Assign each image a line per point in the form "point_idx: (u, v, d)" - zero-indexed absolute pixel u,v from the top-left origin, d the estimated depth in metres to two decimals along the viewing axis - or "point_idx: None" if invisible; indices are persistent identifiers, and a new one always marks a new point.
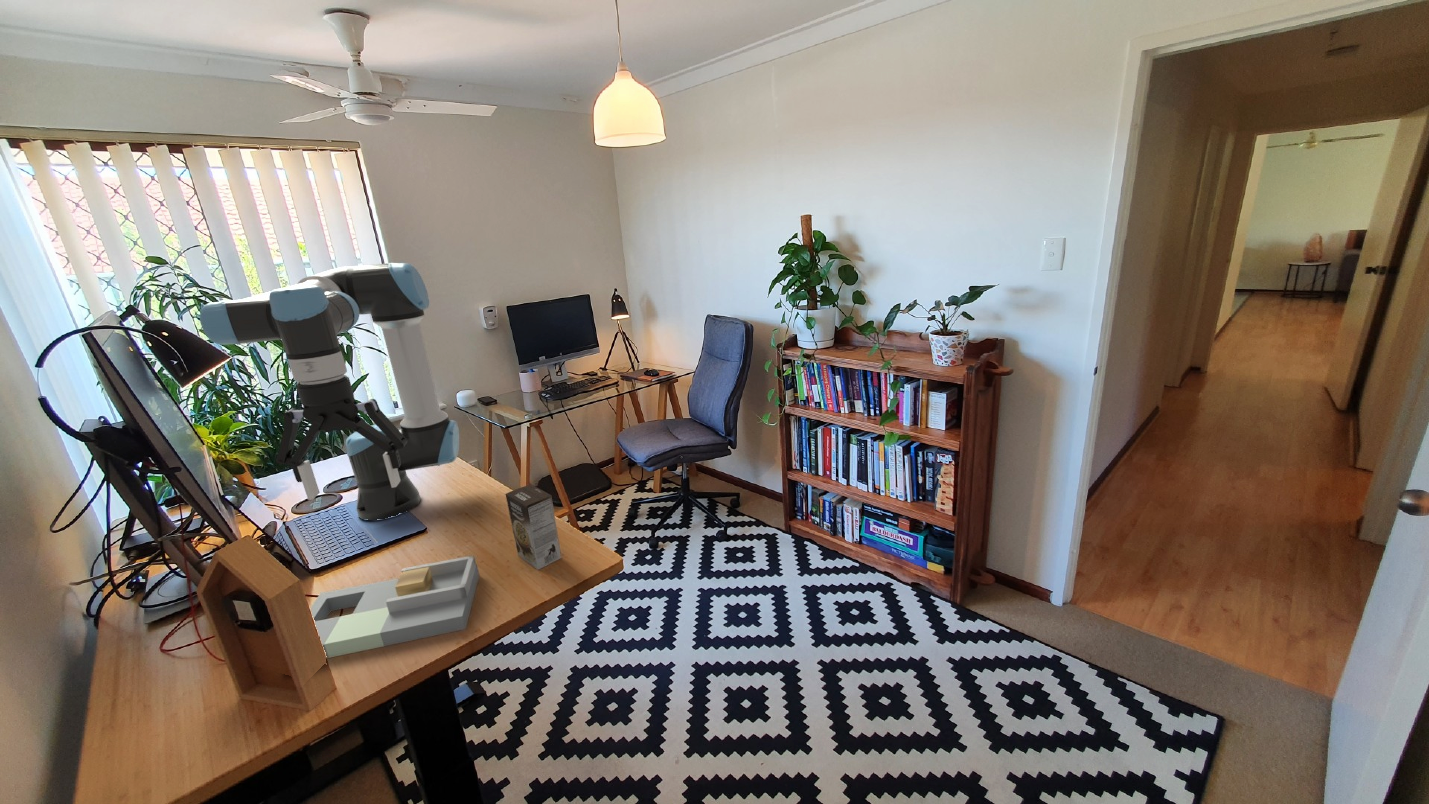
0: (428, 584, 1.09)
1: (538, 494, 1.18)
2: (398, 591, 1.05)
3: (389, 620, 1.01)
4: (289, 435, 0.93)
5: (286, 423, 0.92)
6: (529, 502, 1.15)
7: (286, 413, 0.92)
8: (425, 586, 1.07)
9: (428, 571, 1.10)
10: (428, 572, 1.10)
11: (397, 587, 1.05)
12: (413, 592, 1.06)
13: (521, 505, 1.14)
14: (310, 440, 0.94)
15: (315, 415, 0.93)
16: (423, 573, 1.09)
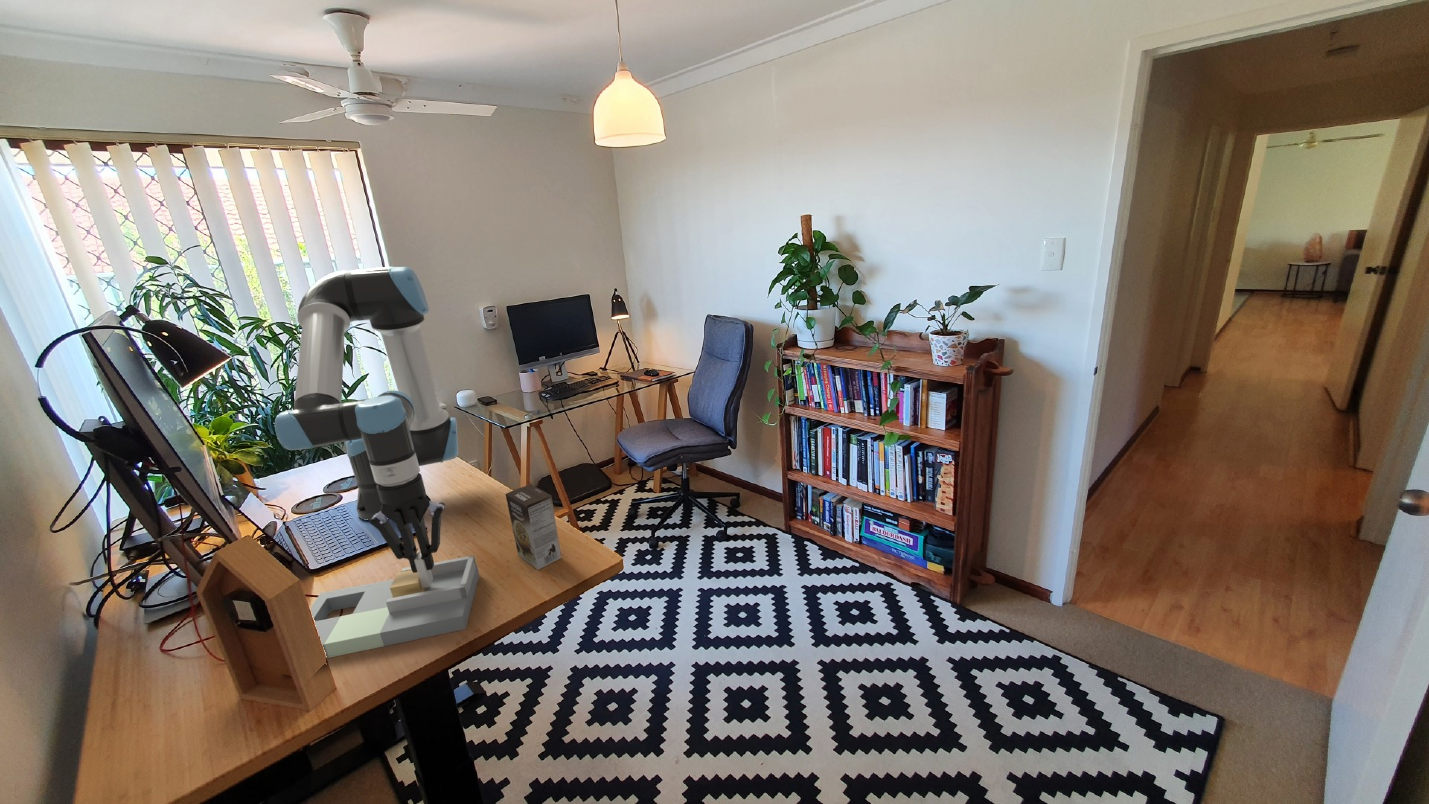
0: None
1: (538, 494, 1.18)
2: (393, 592, 1.05)
3: (389, 620, 1.01)
4: (388, 534, 1.03)
5: (378, 528, 1.02)
6: (529, 502, 1.15)
7: (371, 520, 1.01)
8: (420, 587, 1.07)
9: None
10: None
11: (392, 588, 1.05)
12: (408, 593, 1.06)
13: (521, 505, 1.14)
14: (406, 533, 1.04)
15: (391, 508, 1.02)
16: None
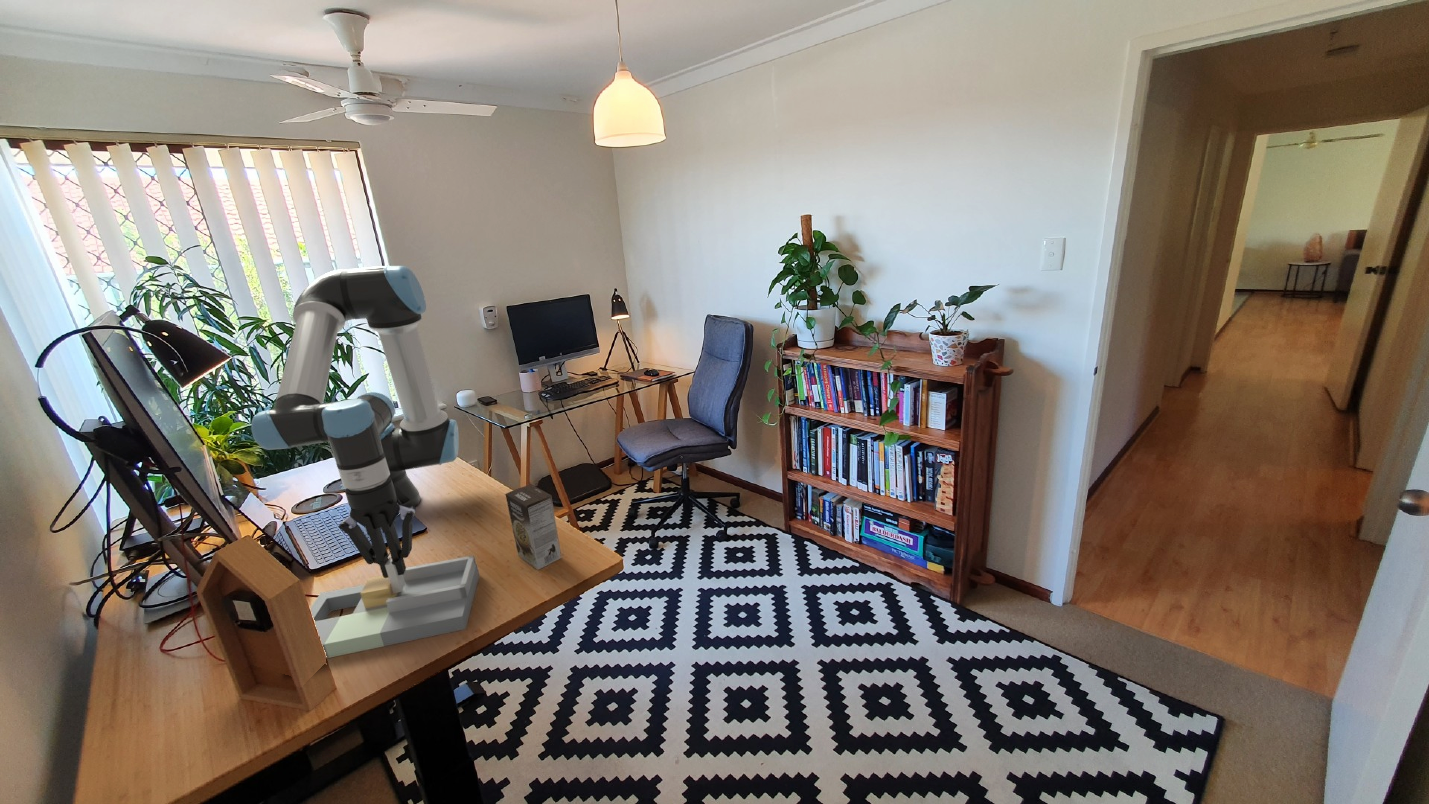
0: None
1: (538, 494, 1.18)
2: (364, 597, 1.04)
3: (389, 620, 1.01)
4: (357, 539, 1.02)
5: (347, 533, 1.01)
6: (529, 502, 1.15)
7: (340, 525, 1.00)
8: (392, 593, 1.06)
9: None
10: None
11: (363, 594, 1.04)
12: (379, 599, 1.05)
13: (521, 505, 1.14)
14: (376, 538, 1.03)
15: (360, 512, 1.01)
16: None
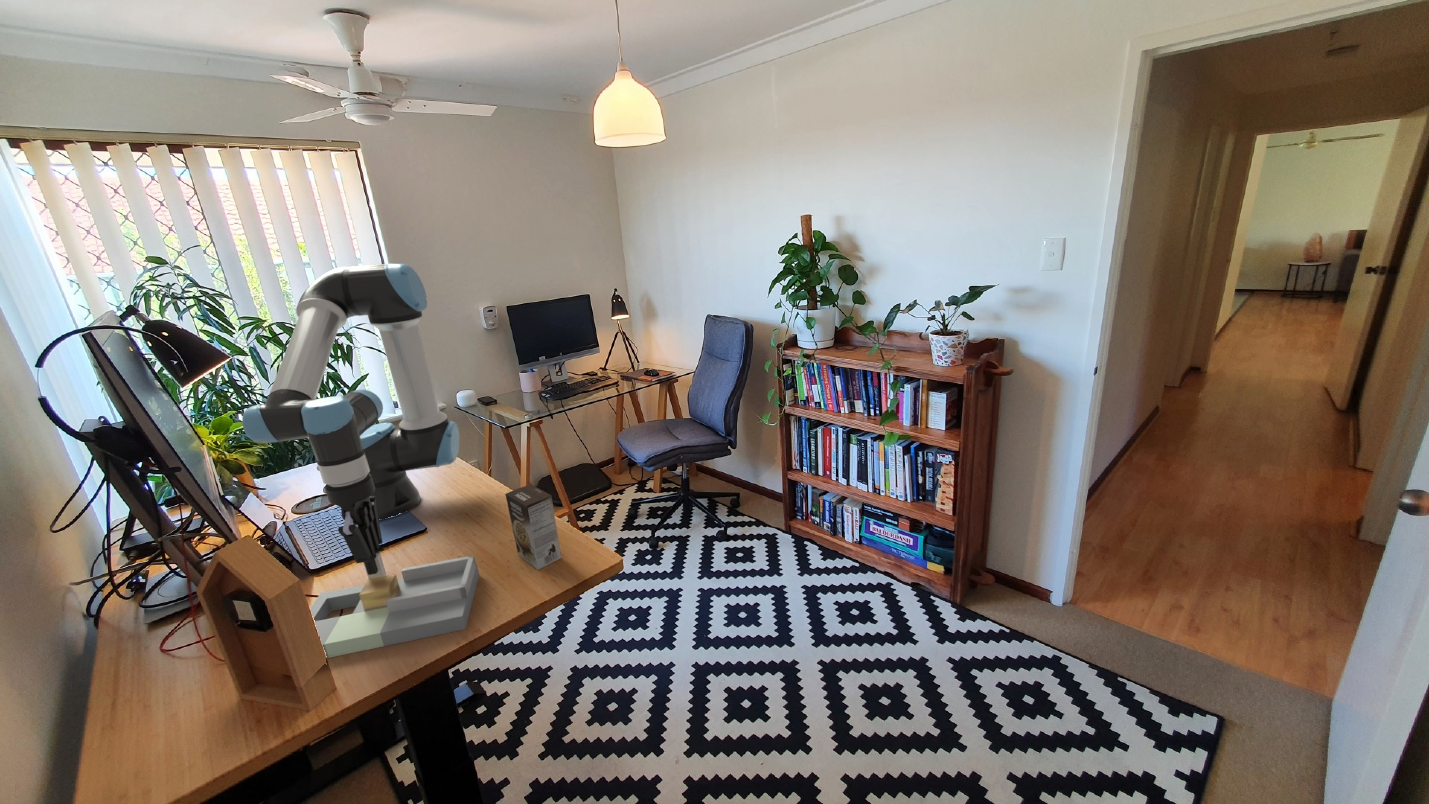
0: (394, 592, 1.07)
1: (538, 494, 1.18)
2: (363, 598, 1.04)
3: (389, 620, 1.01)
4: None
5: None
6: (529, 502, 1.15)
7: None
8: (391, 594, 1.06)
9: (394, 578, 1.08)
10: (394, 579, 1.08)
11: (362, 595, 1.04)
12: (378, 600, 1.05)
13: (521, 505, 1.14)
14: None
15: None
16: (389, 580, 1.07)
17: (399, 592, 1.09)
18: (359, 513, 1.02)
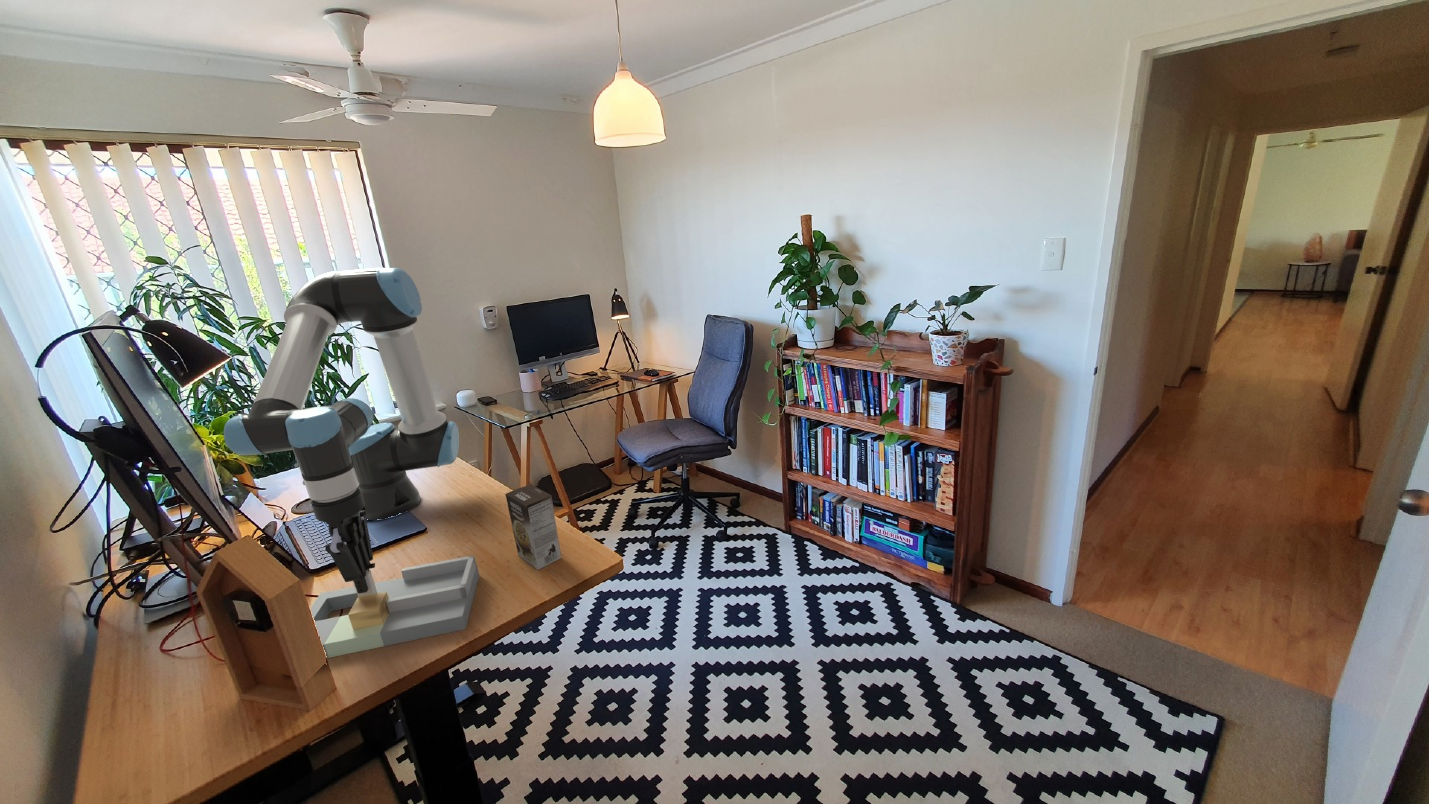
0: (385, 611, 1.02)
1: (538, 494, 1.18)
2: (352, 618, 0.99)
3: (389, 620, 1.01)
4: None
5: None
6: (529, 502, 1.15)
7: None
8: (382, 613, 1.00)
9: (385, 596, 1.03)
10: (385, 597, 1.03)
11: (351, 615, 0.98)
12: (368, 620, 0.99)
13: (521, 505, 1.14)
14: None
15: None
16: (379, 599, 1.02)
17: (399, 592, 1.09)
18: (348, 529, 0.97)
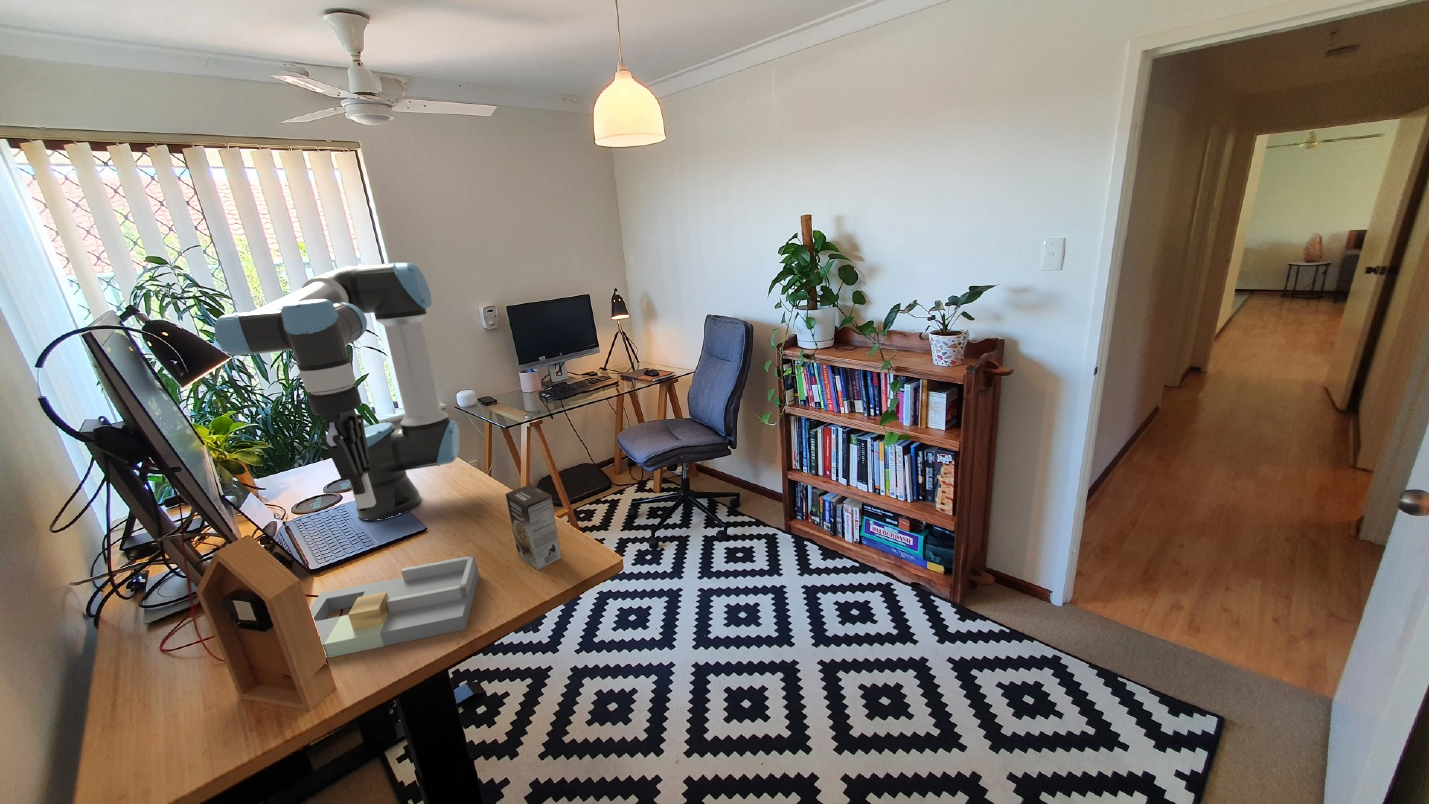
0: (385, 611, 1.02)
1: (538, 494, 1.18)
2: (352, 618, 0.99)
3: (389, 620, 1.01)
4: None
5: None
6: (529, 502, 1.15)
7: None
8: (381, 613, 1.00)
9: (385, 596, 1.03)
10: (385, 597, 1.03)
11: (350, 615, 0.98)
12: (368, 620, 0.99)
13: (521, 505, 1.14)
14: None
15: None
16: (379, 599, 1.02)
17: (399, 592, 1.09)
18: (344, 426, 0.96)
